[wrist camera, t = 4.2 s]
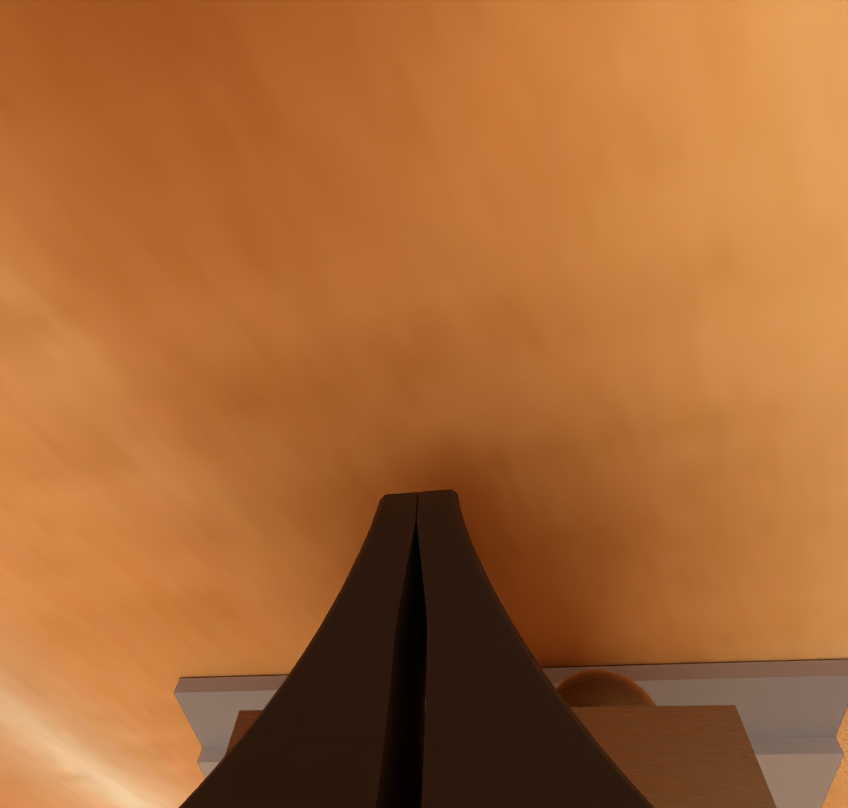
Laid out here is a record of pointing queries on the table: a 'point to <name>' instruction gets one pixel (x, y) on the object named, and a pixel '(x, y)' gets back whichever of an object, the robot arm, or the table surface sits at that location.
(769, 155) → the table surface
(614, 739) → the toy cart
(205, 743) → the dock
